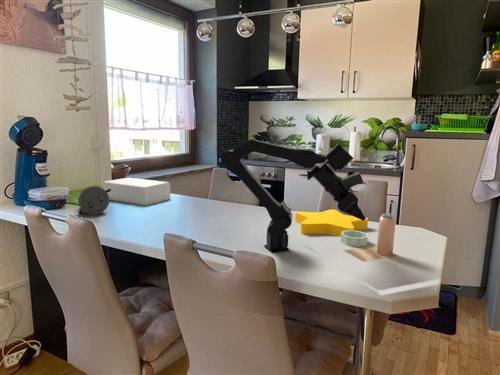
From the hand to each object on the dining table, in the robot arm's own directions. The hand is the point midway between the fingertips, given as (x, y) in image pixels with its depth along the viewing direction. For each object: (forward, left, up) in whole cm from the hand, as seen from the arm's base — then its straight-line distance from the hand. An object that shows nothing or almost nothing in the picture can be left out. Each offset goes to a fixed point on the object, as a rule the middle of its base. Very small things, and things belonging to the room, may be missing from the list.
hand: (362, 215), depth 115 cm
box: (-61, +110, -14) cm, 126 cm away
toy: (-81, +86, -13) cm, 119 cm away
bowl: (+5, +9, -13) cm, 17 cm away
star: (+9, +29, -14) cm, 33 cm away
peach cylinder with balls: (+7, -4, -12) cm, 14 cm away
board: (+3, -2, -13) cm, 14 cm away
